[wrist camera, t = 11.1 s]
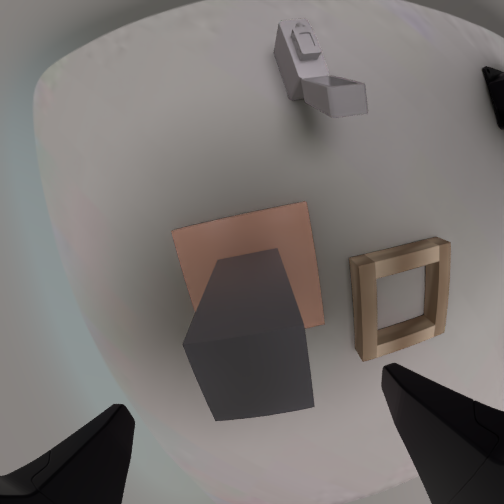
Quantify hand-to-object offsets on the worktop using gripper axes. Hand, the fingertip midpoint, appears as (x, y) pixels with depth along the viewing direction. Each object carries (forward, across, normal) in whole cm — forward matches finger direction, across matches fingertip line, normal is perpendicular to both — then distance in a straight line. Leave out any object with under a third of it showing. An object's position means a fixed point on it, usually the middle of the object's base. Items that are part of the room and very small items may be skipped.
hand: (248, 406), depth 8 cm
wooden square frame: (+12, -11, +4) cm, 17 cm away
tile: (+12, 0, 0) cm, 12 cm away
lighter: (+12, -6, -12) cm, 18 cm away
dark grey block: (+11, 0, 0) cm, 11 cm away
